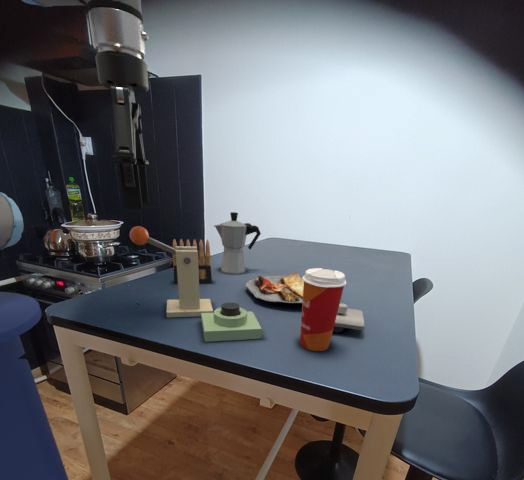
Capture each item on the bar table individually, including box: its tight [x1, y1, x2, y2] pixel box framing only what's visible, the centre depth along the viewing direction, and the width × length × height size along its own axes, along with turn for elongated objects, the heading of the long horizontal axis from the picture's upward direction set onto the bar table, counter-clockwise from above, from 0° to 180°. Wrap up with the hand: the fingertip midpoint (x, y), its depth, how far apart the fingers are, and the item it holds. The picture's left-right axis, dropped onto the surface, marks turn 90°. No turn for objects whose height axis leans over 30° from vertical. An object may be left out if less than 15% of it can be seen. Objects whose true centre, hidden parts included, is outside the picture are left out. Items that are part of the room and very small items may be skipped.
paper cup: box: [299, 267, 347, 352], centre depth 58 cm, size 8×8×14 cm
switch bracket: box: [166, 245, 214, 318], centre depth 70 cm, size 10×8×14 cm
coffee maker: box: [213, 211, 262, 275], centre depth 102 cm, size 15×9×18 cm, turn 95°
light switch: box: [333, 302, 366, 333], centre depth 69 cm, size 10×10×5 cm
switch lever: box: [129, 225, 185, 255], centre depth 65 cm, size 13×4×4 cm, turn 104°
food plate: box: [244, 272, 304, 305], centre depth 86 cm, size 25×23×4 cm
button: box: [220, 302, 241, 317], centre depth 63 cm, size 4×4×2 cm
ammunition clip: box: [172, 238, 213, 285], centre depth 89 cm, size 11×2×12 cm, turn 104°
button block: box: [200, 307, 263, 343], centre depth 64 cm, size 11×9×4 cm
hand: (138, 205), depth 60 cm, fingers open, 13 cm apart
